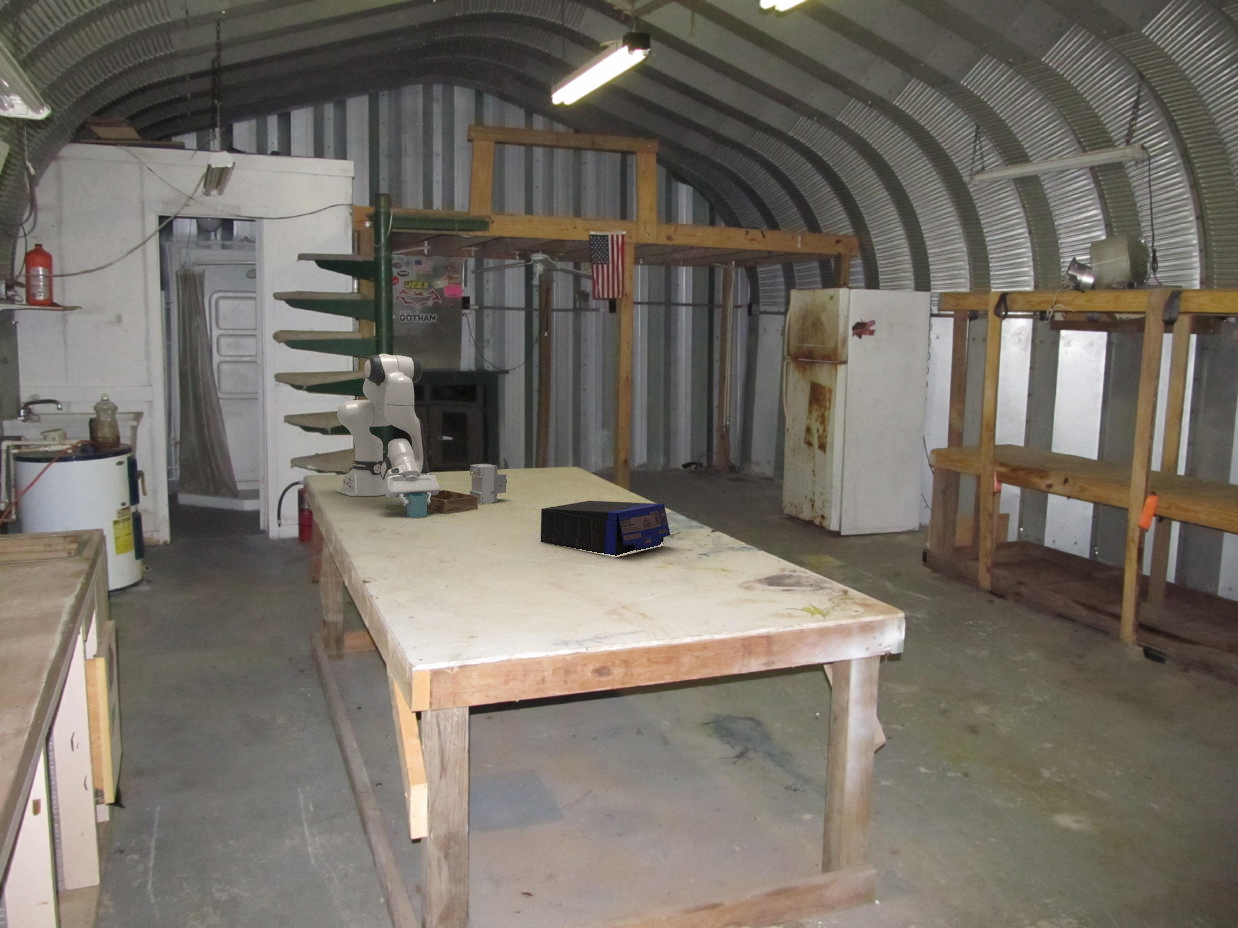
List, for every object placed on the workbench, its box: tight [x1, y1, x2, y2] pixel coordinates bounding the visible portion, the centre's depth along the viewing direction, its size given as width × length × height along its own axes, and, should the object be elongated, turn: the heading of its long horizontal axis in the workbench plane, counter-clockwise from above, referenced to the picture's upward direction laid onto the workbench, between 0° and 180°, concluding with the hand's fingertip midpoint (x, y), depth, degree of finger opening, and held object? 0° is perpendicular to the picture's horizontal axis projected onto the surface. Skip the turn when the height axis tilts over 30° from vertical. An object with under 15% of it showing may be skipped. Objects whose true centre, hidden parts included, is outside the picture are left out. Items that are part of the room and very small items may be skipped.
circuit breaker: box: [469, 463, 508, 505], centre depth 379 cm, size 8×14×15 cm, turn 133°
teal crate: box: [406, 493, 428, 519], centre depth 343 cm, size 6×6×8 cm
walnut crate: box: [427, 489, 479, 515], centre depth 362 cm, size 20×16×5 cm
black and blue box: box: [540, 500, 671, 556], centre depth 304 cm, size 25×35×14 cm
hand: (417, 504), depth 342 cm, fingers open, 7 cm apart
